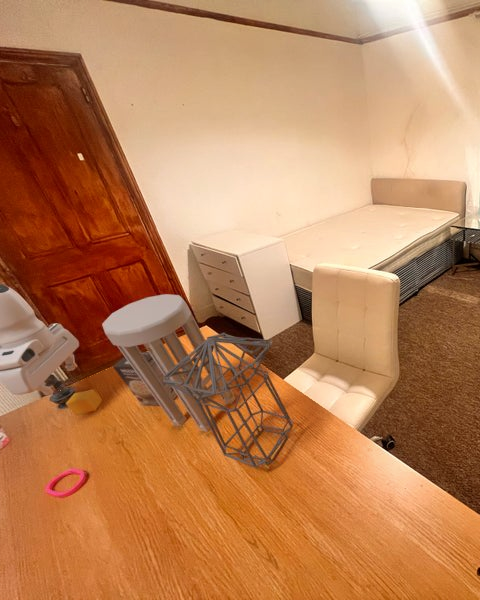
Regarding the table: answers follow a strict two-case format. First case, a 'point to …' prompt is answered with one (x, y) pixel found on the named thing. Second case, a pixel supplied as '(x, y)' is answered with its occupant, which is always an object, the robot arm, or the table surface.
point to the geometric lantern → (203, 353)
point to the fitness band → (70, 491)
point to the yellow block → (84, 402)
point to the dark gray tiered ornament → (58, 395)
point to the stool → (163, 351)
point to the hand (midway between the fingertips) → (62, 380)
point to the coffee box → (139, 380)
